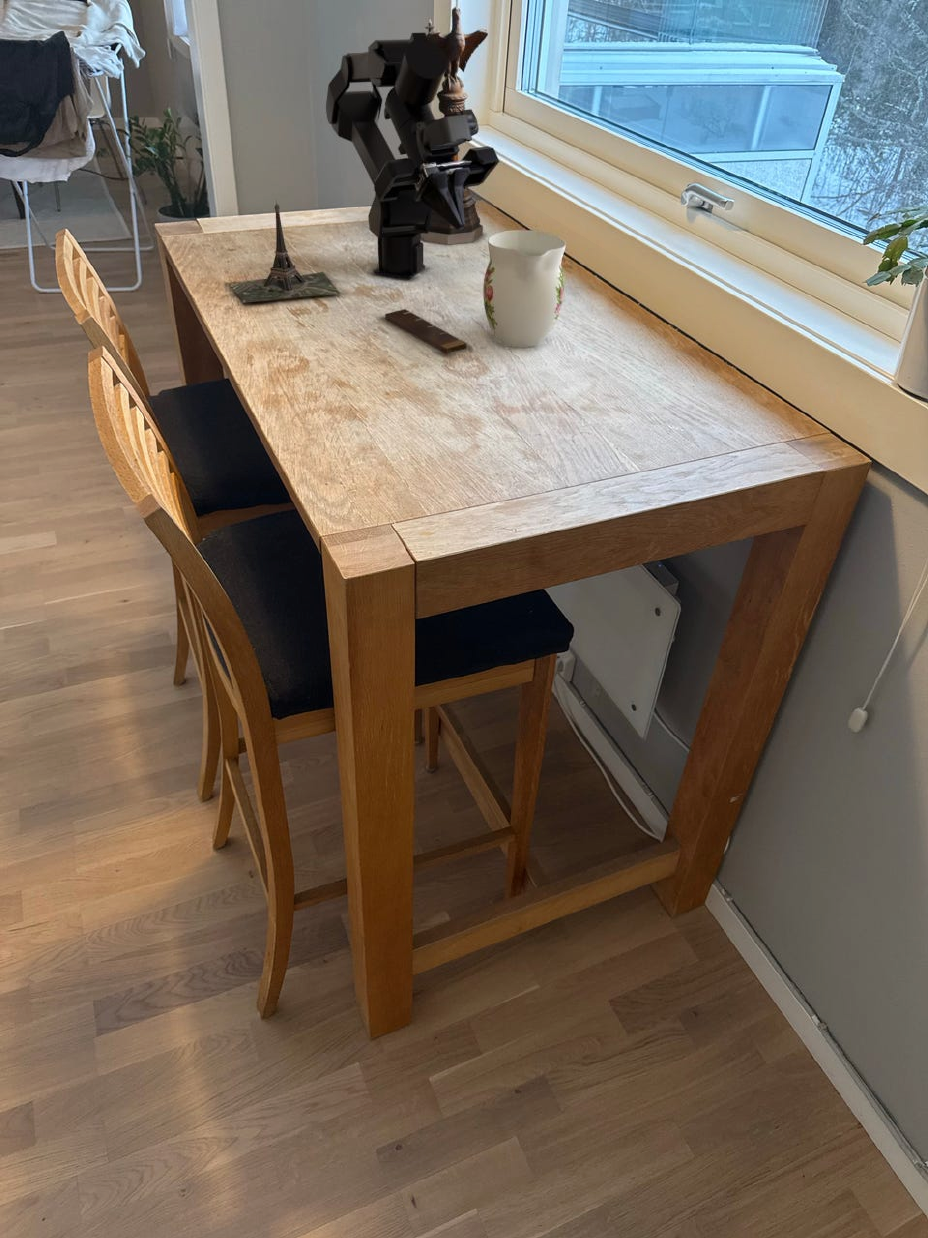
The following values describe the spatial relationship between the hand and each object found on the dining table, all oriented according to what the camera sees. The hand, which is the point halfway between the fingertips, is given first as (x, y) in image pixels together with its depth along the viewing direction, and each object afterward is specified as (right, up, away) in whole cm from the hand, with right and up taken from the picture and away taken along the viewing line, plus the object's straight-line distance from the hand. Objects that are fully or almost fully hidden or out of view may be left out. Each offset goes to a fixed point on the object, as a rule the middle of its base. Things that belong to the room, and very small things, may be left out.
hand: (461, 227), depth 128 cm
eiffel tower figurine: (-27, -5, +11) cm, 30 cm away
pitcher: (+8, -16, 0) cm, 18 cm away
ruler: (-5, -15, -1) cm, 16 cm away
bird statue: (-4, +15, +36) cm, 39 cm away
